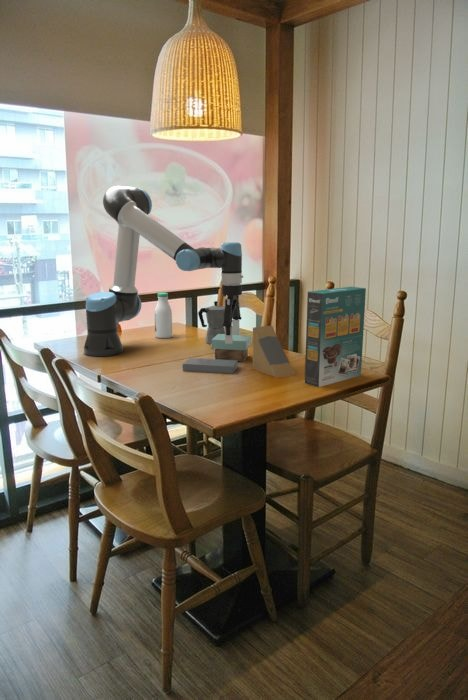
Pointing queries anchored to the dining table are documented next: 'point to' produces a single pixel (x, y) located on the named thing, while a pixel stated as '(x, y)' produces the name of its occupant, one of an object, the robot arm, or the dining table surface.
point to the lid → (238, 343)
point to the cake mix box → (334, 335)
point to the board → (210, 365)
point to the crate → (231, 354)
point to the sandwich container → (269, 353)
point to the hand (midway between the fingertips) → (232, 339)
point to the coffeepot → (213, 321)
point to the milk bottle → (163, 317)
